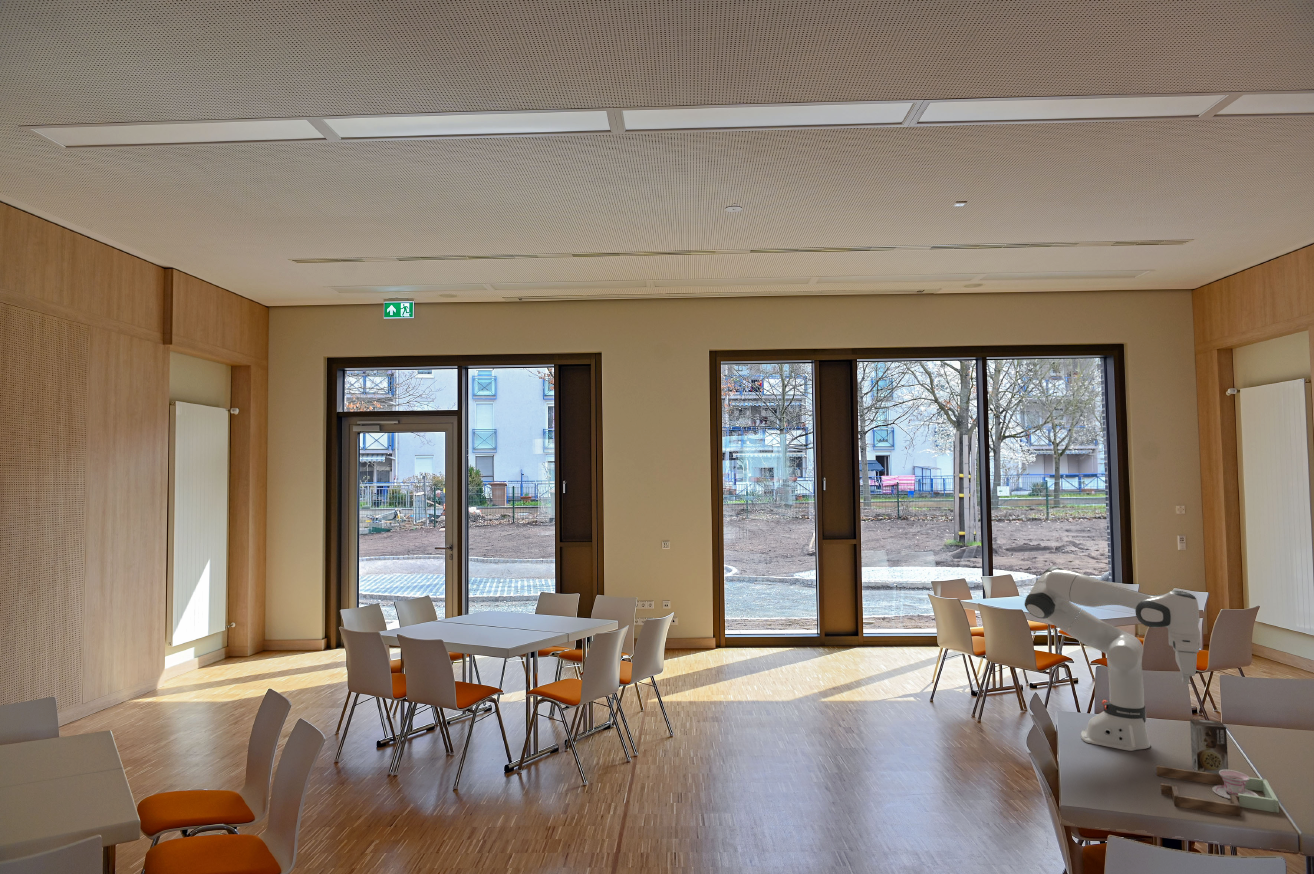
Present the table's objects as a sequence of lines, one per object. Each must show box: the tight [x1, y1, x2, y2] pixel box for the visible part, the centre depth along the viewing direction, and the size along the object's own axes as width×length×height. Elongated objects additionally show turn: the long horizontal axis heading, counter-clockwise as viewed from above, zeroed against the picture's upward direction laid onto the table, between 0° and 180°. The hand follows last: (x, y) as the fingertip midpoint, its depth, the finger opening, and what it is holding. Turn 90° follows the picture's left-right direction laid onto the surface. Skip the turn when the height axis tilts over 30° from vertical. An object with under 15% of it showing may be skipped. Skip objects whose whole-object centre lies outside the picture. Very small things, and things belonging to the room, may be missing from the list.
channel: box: [1156, 765, 1242, 817], centre depth 249 cm, size 20×25×3 cm
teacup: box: [1211, 769, 1259, 800], centre depth 249 cm, size 12×12×6 cm
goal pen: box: [1238, 776, 1280, 814], centre depth 246 cm, size 10×17×4 cm, turn 152°
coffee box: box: [1189, 718, 1229, 774], centre depth 268 cm, size 9×6×16 cm
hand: (1185, 682), depth 263 cm, fingers closed
